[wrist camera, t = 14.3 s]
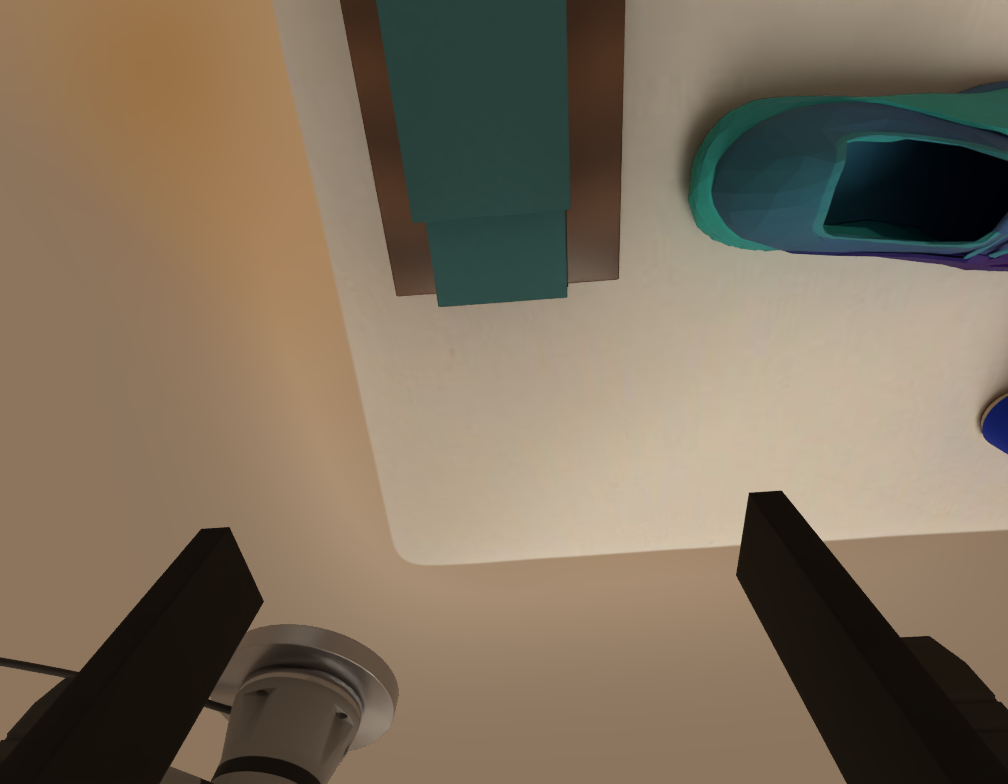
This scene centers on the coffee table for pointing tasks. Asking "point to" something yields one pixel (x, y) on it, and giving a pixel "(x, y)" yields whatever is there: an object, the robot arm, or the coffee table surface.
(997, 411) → the beverage can
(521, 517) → the coffee table surface
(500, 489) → the coffee table surface
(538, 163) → the teal stepped block
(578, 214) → the brown wooden board
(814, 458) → the coffee table surface
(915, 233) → the sneaker
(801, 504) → the coffee table surface
